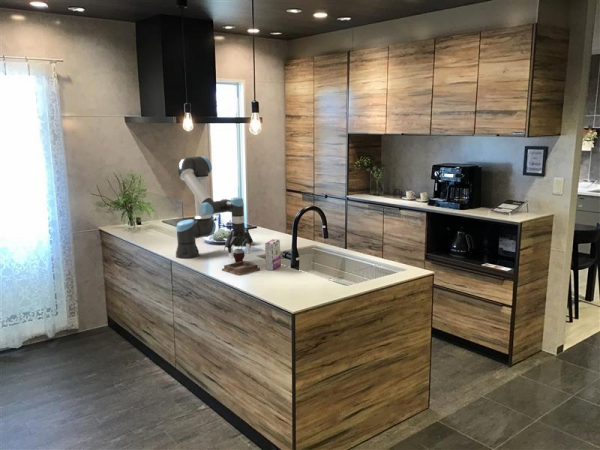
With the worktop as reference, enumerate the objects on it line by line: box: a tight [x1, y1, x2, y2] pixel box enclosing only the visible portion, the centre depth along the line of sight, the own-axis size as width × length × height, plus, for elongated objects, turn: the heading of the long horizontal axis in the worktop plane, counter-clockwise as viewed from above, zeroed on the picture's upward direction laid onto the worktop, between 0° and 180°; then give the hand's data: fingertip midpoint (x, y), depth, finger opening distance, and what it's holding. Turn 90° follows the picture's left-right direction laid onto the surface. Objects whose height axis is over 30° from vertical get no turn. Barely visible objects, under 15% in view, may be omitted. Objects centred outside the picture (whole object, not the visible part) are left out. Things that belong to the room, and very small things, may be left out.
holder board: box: [221, 260, 261, 276], centre depth 306 cm, size 16×16×3 cm
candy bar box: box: [264, 238, 282, 271], centre depth 308 cm, size 11×5×16 cm, turn 158°
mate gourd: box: [233, 239, 247, 263], centre depth 323 cm, size 8×8×15 cm
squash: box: [230, 227, 248, 246], centre depth 373 cm, size 14×15×15 cm
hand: (239, 255), depth 324 cm, fingers open, 13 cm apart
